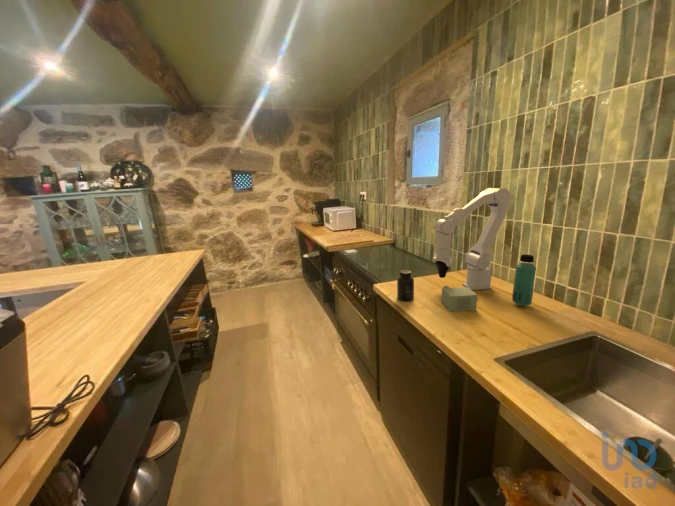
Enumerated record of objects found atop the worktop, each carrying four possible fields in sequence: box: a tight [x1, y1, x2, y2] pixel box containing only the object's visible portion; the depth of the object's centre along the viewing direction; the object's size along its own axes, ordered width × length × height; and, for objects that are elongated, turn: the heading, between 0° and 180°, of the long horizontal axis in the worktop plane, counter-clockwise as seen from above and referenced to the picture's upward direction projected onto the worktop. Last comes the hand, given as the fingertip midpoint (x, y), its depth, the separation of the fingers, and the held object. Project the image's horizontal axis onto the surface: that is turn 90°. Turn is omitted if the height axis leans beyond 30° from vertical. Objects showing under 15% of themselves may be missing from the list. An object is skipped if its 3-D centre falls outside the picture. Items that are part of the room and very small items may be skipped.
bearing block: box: [440, 286, 478, 312], centre depth 108 cm, size 10×8×6 cm
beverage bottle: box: [511, 254, 537, 306], centre depth 104 cm, size 6×7×20 cm
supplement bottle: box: [396, 269, 415, 302], centre depth 116 cm, size 7×7×12 cm
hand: (442, 277), depth 123 cm, fingers closed
